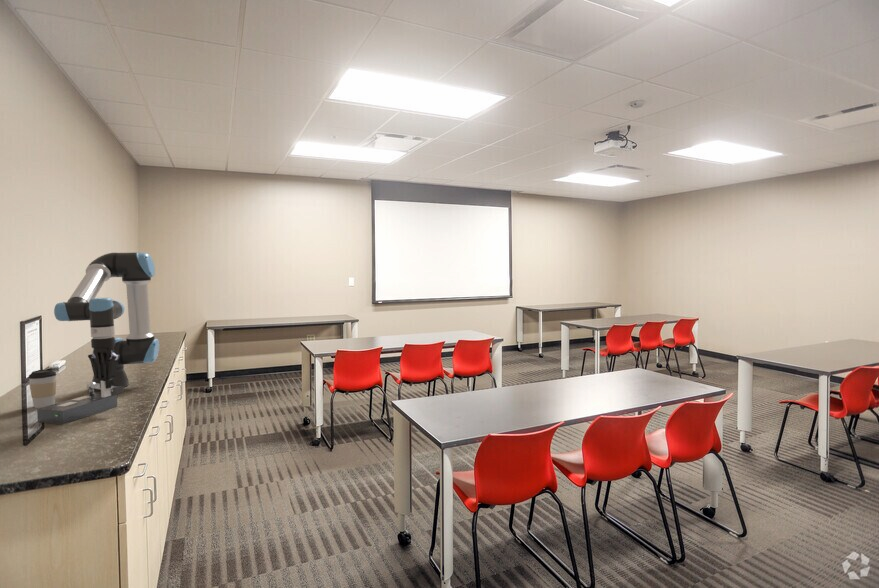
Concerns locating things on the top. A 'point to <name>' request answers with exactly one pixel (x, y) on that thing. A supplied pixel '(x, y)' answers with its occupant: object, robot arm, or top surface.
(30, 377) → the coffee cup
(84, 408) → the lever switch
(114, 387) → the grey long bar
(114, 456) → the top surface
